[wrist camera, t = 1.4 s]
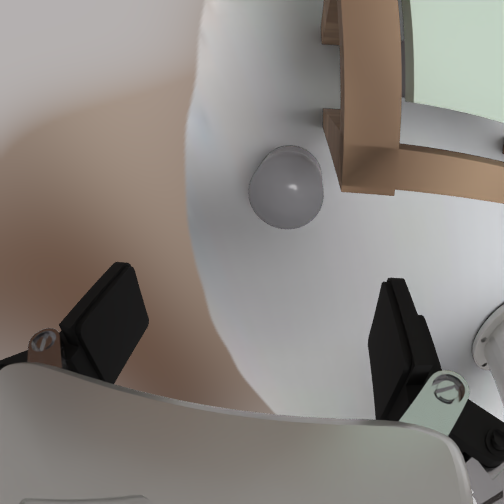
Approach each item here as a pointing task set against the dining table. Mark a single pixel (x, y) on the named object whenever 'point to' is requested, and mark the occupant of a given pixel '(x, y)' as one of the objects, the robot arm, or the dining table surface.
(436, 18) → the pale green flat block
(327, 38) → the frame
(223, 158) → the dining table surface
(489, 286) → the dining table surface
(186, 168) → the dining table surface
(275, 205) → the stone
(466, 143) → the dining table surface
